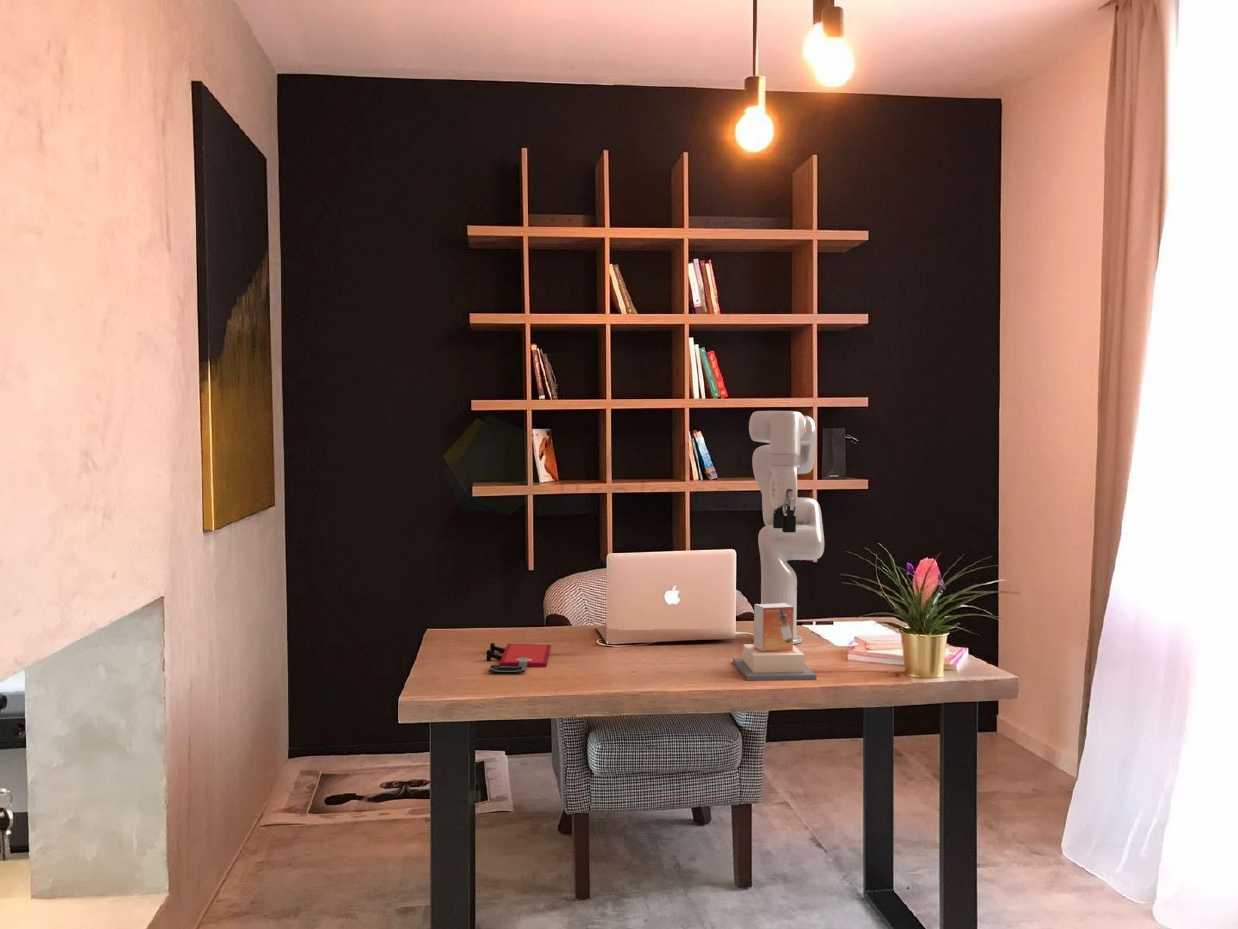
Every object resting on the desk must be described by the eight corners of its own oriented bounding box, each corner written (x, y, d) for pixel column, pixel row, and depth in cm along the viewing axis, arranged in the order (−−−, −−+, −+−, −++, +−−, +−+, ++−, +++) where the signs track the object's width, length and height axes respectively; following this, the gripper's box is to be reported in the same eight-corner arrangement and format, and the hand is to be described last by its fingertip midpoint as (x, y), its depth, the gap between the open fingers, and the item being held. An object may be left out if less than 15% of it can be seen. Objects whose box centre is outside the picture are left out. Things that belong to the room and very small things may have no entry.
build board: (732, 662, 248) (733, 641, 248) (796, 661, 250) (797, 640, 249) (747, 680, 230) (747, 658, 230) (816, 679, 232) (816, 657, 231)
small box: (761, 652, 236) (762, 607, 236) (753, 647, 242) (753, 603, 241) (793, 650, 238) (794, 606, 238) (784, 645, 244) (784, 602, 243)
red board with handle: (480, 675, 235) (544, 676, 235) (480, 663, 235) (544, 664, 235) (493, 649, 265) (550, 650, 265) (493, 638, 265) (550, 639, 265)
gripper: (762, 460, 258) (761, 527, 258) (777, 462, 241) (777, 534, 241) (791, 460, 258) (790, 526, 259) (808, 462, 241) (808, 533, 242)
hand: (784, 530), depth 250 cm, fingers open, 9 cm apart
